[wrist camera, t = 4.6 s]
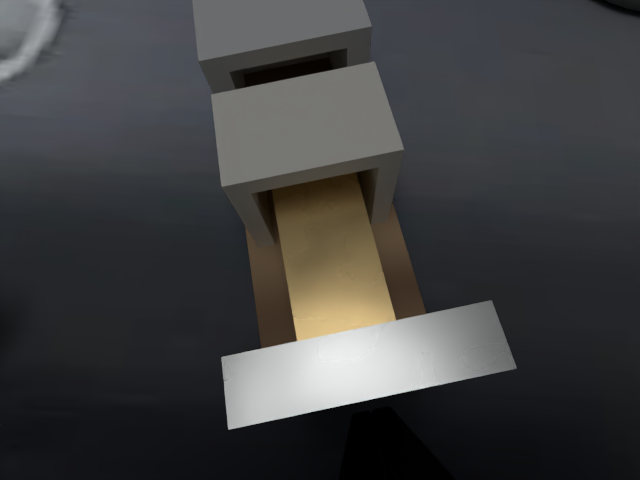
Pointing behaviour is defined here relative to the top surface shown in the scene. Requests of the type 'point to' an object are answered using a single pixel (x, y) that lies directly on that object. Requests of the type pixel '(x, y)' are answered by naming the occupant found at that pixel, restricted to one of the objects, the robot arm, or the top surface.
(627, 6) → the water bottle
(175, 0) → the top surface
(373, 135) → the sleeve
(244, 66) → the socket block
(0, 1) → the top surface
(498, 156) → the top surface
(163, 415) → the top surface
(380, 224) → the track bed
